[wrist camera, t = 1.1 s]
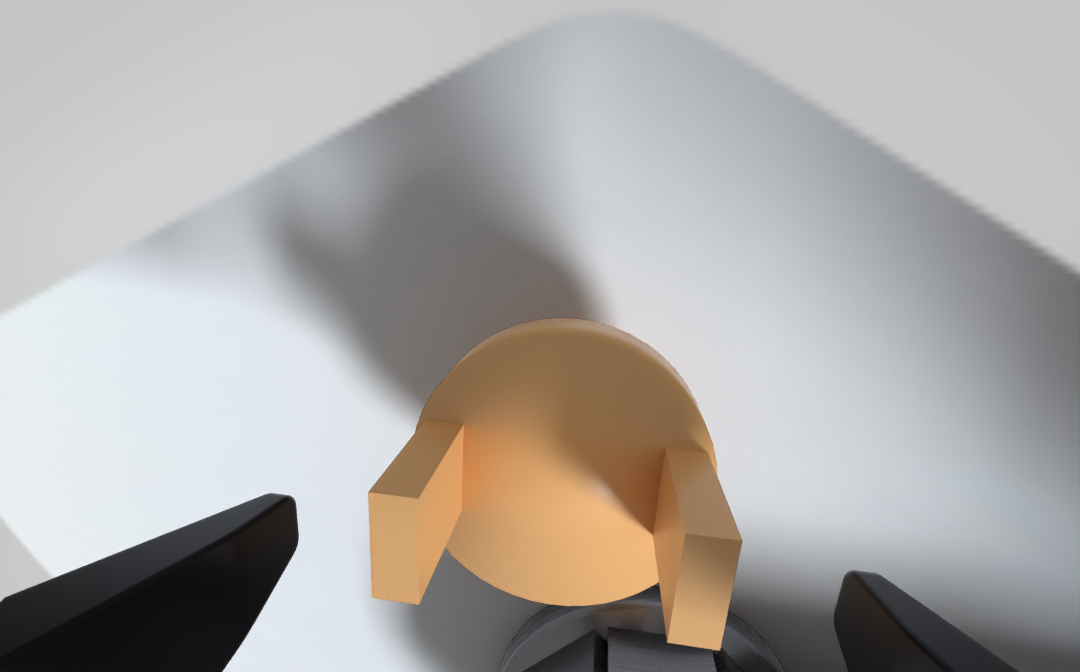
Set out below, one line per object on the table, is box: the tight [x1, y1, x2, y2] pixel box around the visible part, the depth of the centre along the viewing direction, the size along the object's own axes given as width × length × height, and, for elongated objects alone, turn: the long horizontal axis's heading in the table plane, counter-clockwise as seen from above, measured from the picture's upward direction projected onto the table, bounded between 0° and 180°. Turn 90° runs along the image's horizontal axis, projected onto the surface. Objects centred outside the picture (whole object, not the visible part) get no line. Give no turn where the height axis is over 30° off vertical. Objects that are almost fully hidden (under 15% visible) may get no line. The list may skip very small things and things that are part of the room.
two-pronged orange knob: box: [368, 318, 742, 651], centre depth 11 cm, size 6×6×6 cm
